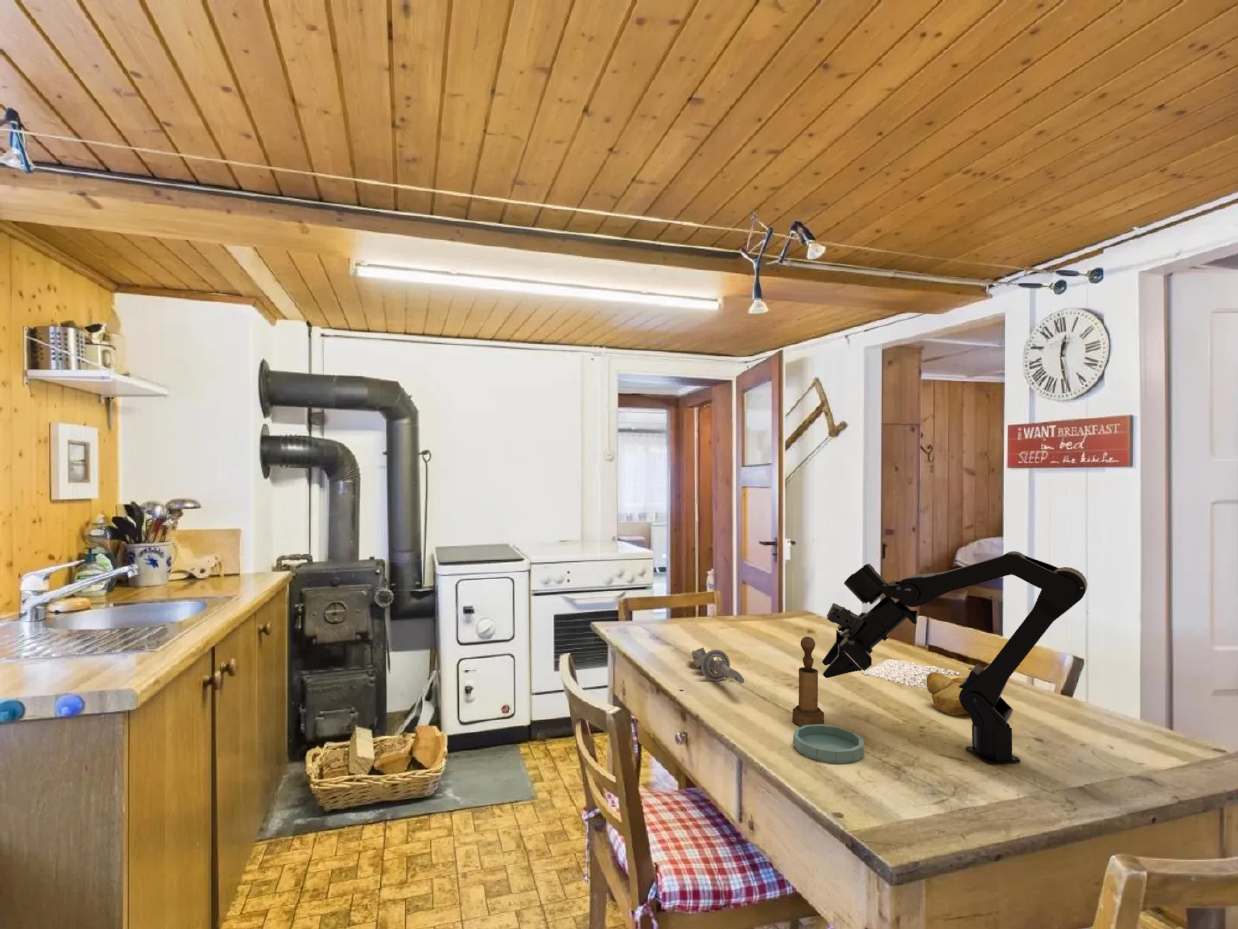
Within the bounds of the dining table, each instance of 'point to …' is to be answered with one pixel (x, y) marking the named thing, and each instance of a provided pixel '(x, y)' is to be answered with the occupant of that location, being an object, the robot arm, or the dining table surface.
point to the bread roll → (946, 693)
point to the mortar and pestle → (808, 689)
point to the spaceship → (715, 665)
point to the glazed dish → (828, 743)
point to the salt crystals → (904, 672)
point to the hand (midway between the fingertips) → (823, 669)
